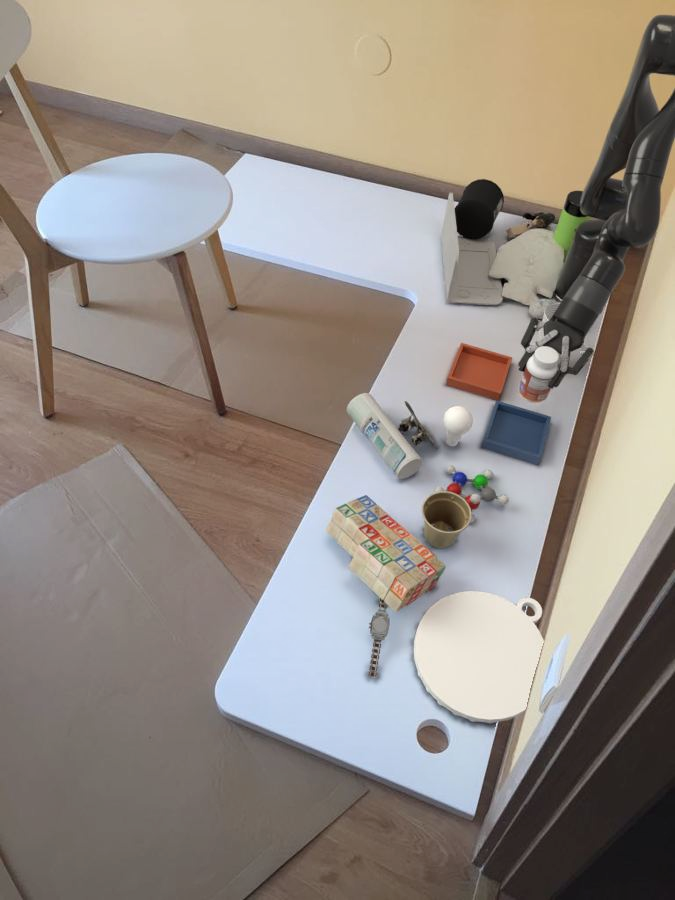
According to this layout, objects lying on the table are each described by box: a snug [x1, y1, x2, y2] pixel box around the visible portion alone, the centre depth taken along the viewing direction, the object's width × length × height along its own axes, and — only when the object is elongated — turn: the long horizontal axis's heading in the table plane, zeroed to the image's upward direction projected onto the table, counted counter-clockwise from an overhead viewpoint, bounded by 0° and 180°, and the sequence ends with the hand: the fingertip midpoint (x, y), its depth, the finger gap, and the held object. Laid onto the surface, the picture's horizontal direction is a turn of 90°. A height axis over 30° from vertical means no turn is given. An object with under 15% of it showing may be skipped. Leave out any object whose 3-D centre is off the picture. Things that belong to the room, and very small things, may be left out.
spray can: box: [346, 392, 423, 480], centre depth 157 cm, size 6×6×20 cm
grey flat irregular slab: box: [489, 228, 565, 307], centre depth 197 cm, size 18×5×30 cm
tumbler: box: [554, 190, 591, 262], centre depth 198 cm, size 8×8×17 cm
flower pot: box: [421, 491, 473, 549], centre depth 143 cm, size 9×9×9 cm
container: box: [454, 178, 505, 239], centre depth 206 cm, size 12×12×18 cm
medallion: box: [413, 590, 545, 725], centre depth 131 cm, size 24×27×2 cm
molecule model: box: [433, 464, 510, 524], centre depth 151 cm, size 15×7×14 cm
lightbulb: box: [442, 405, 474, 447], centre depth 157 cm, size 6×6×11 cm
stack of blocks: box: [325, 494, 447, 613], centre depth 137 cm, size 21×6×12 cm
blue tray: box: [480, 400, 552, 466], centre depth 162 cm, size 13×13×2 cm
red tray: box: [445, 342, 513, 401], centre depth 173 cm, size 13×13×2 cm
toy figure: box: [505, 211, 556, 239], centre depth 208 cm, size 7×6×15 cm
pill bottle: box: [518, 346, 559, 404], centre depth 148 cm, size 6×6×11 cm
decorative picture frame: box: [397, 400, 439, 450], centre depth 158 cm, size 12×6×11 cm
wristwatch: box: [368, 597, 391, 678], centre depth 132 cm, size 4×14×5 cm, turn 170°
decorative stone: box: [528, 298, 559, 320], centre depth 185 cm, size 13×7×5 cm, turn 79°
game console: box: [440, 192, 504, 306], centre depth 192 cm, size 28×15×15 cm, turn 178°
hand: (535, 379), depth 147 cm, fingers closed on pill bottle, 6 cm apart
